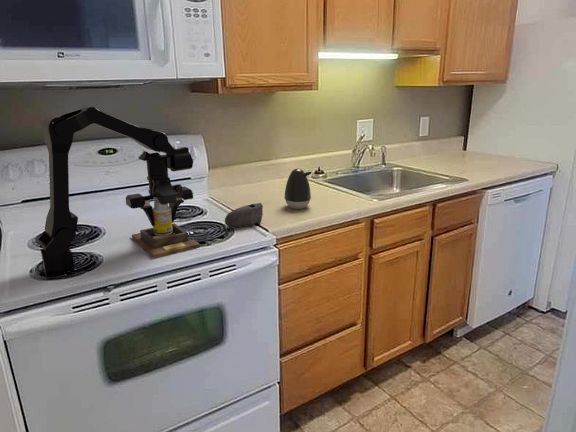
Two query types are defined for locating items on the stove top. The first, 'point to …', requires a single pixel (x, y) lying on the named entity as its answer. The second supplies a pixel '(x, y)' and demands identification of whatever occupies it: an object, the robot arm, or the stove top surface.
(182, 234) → the holder board
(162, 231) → the supplement bottle
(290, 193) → the pump dispenser
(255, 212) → the perforated stone tool
